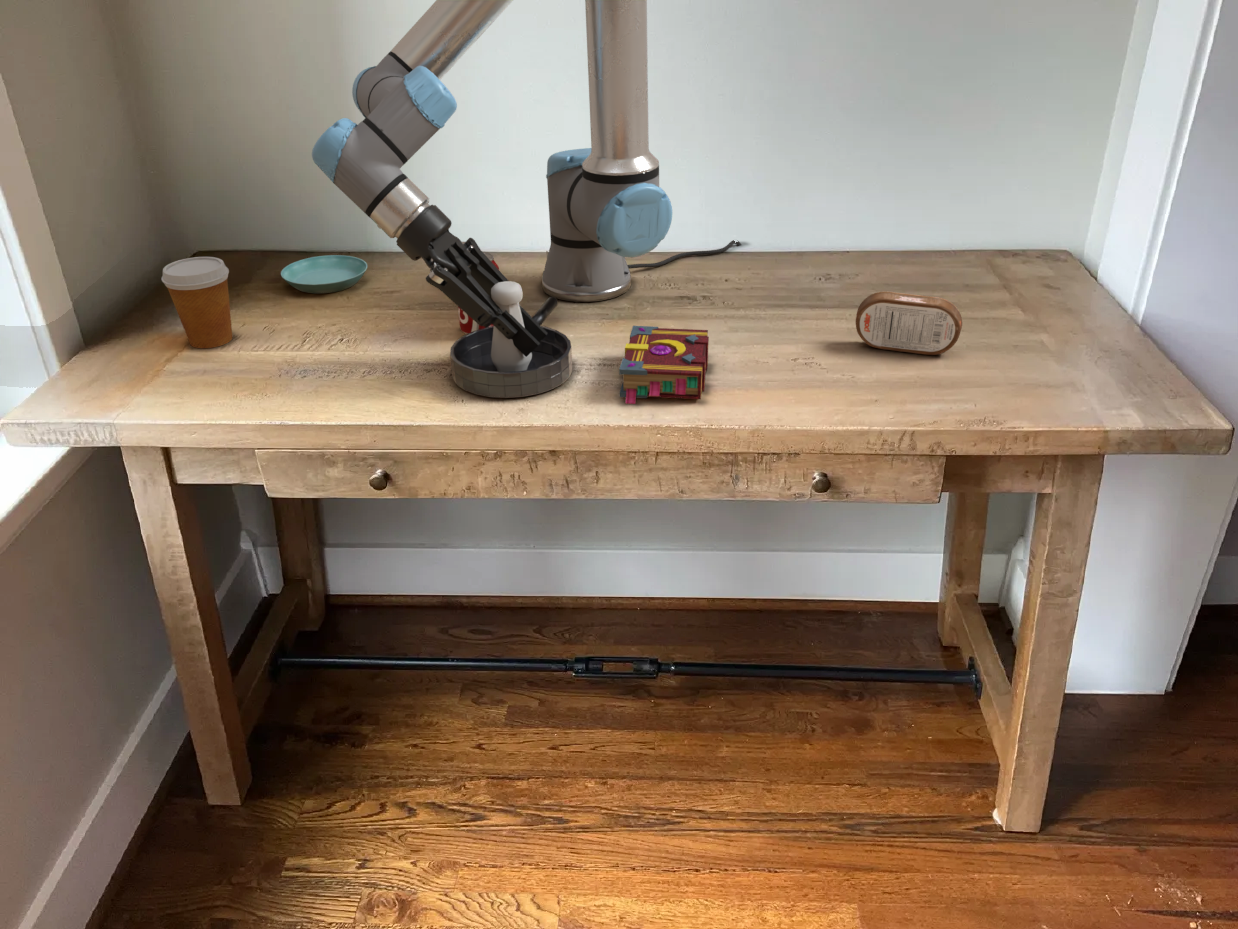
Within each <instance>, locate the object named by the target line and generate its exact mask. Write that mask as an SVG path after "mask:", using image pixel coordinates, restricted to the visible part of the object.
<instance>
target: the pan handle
mask: <svg viewBox="0 0 1238 929" xmlns="http://www.w3.org/2000/svg"><path fill="white" fill-rule="evenodd" d="M558 304H559V303H558V298H555V297H552V296H549V297H548V298H547V299H546V300H545V301H544V302H543V304H542V305H541V306H540V307H539V308H538V310H537V311H536V312H535V313H534V315H532V316H531V317H532V318H533V319H534V320H535V321H536V322H537V323H538V324H539V325H540V326H543V324H544V322H546V320H547V319H548V318H549V316H550V315H551V314H552V313H553V311H554V310H555V309H556V308H557V306H558Z"/></svg>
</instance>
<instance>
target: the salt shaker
mask: <svg viewBox="0 0 1238 929" xmlns="http://www.w3.org/2000/svg"><path fill="white" fill-rule="evenodd" d="M523 295H524V294H523V288H522V286H521V284H520V283H518V282H516V281H512V280H509V281H504V282H499V283H497V284H495V285H494V286H493V287H492V288H491V297H492V300H493V301H494V302H495V303H496V304H497V306H498V307H499V308H500V309H501V310H502V313H503V312H504V311H505V310H506V311H507V312H508V313H509V314H510V315H512V316H513V317H514V318H515V319H516V320H517V321H518V322H519V323H520V324H521V325H522V326H523V327H524V328H525V326H524V322H523V318H522V314H521V310H520V306H521V305H520V302H521V301H522V300H523V297H524V296H523ZM519 305H520V306H519ZM491 358H492V361H493V363H494V365H495V366H496V368H497V370H498V371H499V372H515V371H524V370H527V367H528V365H529V363H530V361H531V359H532V352H531V353H530V354H529V355H528V356H527V357H526V356H525V355H524V354H523V353H522V352H520V351H519V350H518V349H517V348H516V347H515V346H514V344H513V340H512V339H510V340H509V339H508V338H506V337H505V336H504V335H503V334H502V333H501V332H500V331H499V330H498V329H497V328H496V327H495V326H494V329H493V338H492V348H491Z"/></svg>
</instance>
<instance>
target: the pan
mask: <svg viewBox="0 0 1238 929" xmlns="http://www.w3.org/2000/svg"><path fill="white" fill-rule="evenodd" d="M541 327H542V328H543V329H544V330H545V331H546V332H547V333H548V334H547V335H546V336H545V337H544V338H543V339H542V340H541V341H540V342H539V343H540V344H539V346H537V347H536V348H535V349H534V350H533V351H532V359H531V361H530V363H529V365H528V367H527V370H524V371H515V372H499V371H498V370H497V368H496V366H495V365H494V363H493V361H492V358H491V348H492V338H493V329H494V326H492V327H488V328H483V329H479V330H476V331H473V332H471V333H468V334H463V335H462V336H461V337H459V338H458V339H457V340H455V341H454V342H453V344H452V345H451V346H450V352H449V358H450V366H451V367H450V368H451V374H452V377H451V378H452V379H453V381H454V383H455V384H456V386H458V387H459V388H461V389H462V390H463V391H466V392H468V393H471V394H474V395H476V396H477V395H478V396H481V397H488V398H497V399H511V398H523V397H530V396H535V395H539V394H543V393H545V392H549V391H551V390H554V389H555V388H557V387H559V386H561V385H563V384H564V383H565V382H566V381H567V380H568V379H569V378H570V377H571V374H572V372H573V352H572V342H571V340H570V339H569V338H568V336H567V335H565V334H564V333H562V332H561V331H559V330H557V329H554V328H552V327H547V326H544V325H541Z"/></svg>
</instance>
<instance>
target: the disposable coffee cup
mask: <svg viewBox="0 0 1238 929" xmlns="http://www.w3.org/2000/svg"><path fill="white" fill-rule="evenodd" d="M229 269H230V268H228V266H226V264H225V262H224V260H223V259H221V258H219V257H214V256H195V257H187V258H182V259H179V260H175V261H173V262H170V263H168V264H166V265H165V266H164V267H163V268H162V276H161V282H162V283H163V284H164V286H165V287H166V288H167V290H168V292H169V295H170V298H171V301H172V303H173V305H174V308H175V310H176V313H177V316H178V318H179V320H180V322H181V325H182V328H183V330H184V332H185V334H186V337H187V340H188V343H189V345H190V346H191V347H193V348H196V349H212V348H217V347H221V346H224V345H226V344H228V343H230V342H231V341H232V340H233V328H232V317H231V305H230V304H231V303H230V294H229V284H228V277H229V273H230V270H229Z"/></svg>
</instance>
